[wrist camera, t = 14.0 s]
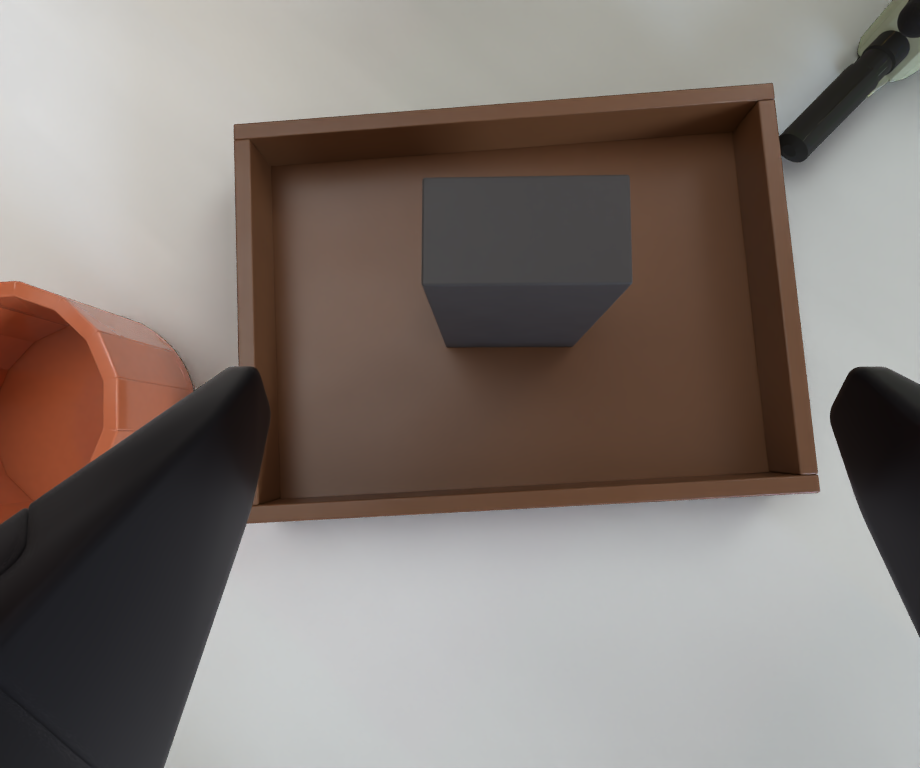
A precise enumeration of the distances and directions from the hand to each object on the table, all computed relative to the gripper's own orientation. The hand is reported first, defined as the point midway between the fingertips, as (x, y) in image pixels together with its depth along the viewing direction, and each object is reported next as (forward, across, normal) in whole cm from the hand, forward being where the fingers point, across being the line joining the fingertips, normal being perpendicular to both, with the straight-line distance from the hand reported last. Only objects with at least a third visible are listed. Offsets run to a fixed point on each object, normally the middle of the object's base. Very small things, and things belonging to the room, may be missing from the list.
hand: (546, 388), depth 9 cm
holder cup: (+10, +16, +10) cm, 21 cm away
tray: (+12, 0, +7) cm, 14 cm away
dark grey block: (+12, 0, +6) cm, 14 cm away
